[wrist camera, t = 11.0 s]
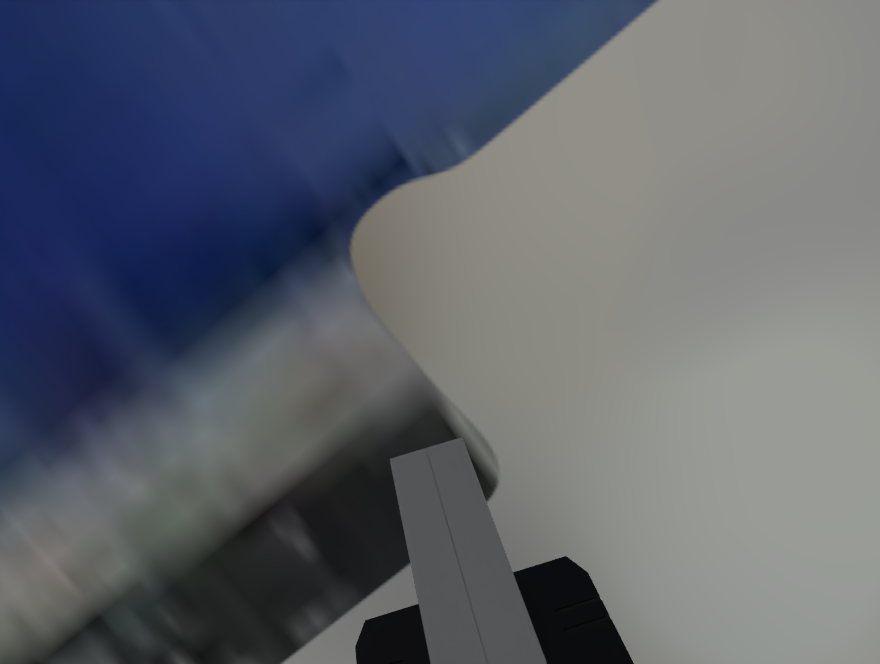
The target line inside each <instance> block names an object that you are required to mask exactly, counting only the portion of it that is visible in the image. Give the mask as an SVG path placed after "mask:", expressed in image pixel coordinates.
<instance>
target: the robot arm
mask: <svg viewBox="0 0 880 664" xmlns="http://www.w3.org/2000/svg"><path fill="white" fill-rule="evenodd" d="M390 463H391V468H392V473H393V478H394V483H395V488H396V493H397V498H398V503H399V508H400V513H401V518H402V523H403V528H404V533H405V538H406V543H407V548H408V553H409V558H410V563H411V568H412V572H413V577H414V583H415V588H416V593H417V598H418V602H419V604H417V605H414V606H411V607H407V608H404V609H401V610H398V611H395V612H391V613H388V614H385V615H382V616H378V617H375V618H372V619H369V620H366V621H365V623H364V625H363V628H362V631H361V633H360V636H359V639H358V641H357V644H356V660H357V664H634V663H633V661H632V659H631V657H630V655H629V653H628V651H627V650H626V647H625V645H624V643H623V642H622V639H621V637H620V635H619V633H618V631H617V629H616V627H615V625H614V624H613V622H612V620H611V619H610V617H609V614H608V612H607V610H606V608H605V606H604V604H603V602H602V600H601V599H600V596H599V594H598V592H597V590H596V588H595V586H594V584H593V582H592V580H591V578H590V576H589V574H588V573H587V572H586V571H585V570H583V569H582V568H581V567H580V566H578V565H577V564H576V563H574V562H573V561H572V560H570V559H569V558H568V557H566V556H565V557H562V558H559V559H555V560H552V561H549V562H546V563H543V564H539V565H536V566H533V567H529V568H526V569H523V570H520V571H517V572H514V573H513V572H512V569H511V566H510V564H509V561H508V559H507V556H506V553H505V550H504V548H503V545H502V542H501V540H500V537H499V534H498V532H497V529H496V526H495V524H494V521H493V518H492V516H491V513H490V511H489V508H488V505H487V502H486V500H485V497H484V494H483V492H482V489H481V486H480V484H479V481H478V478H477V476H476V473H475V470H474V468H473V465H472V462H471V460H470V457H469V454H468V452H467V449H466V446H465V444H464V441H463V438H458V439H455V440H452V441H448V442H445V443H442V444H438V445H435V446H432V447H428V448H425V449H422V450H418V451H415V452H412V453H408V454H405V455H402V456H398V457H395V458H392V459H390Z"/></svg>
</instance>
